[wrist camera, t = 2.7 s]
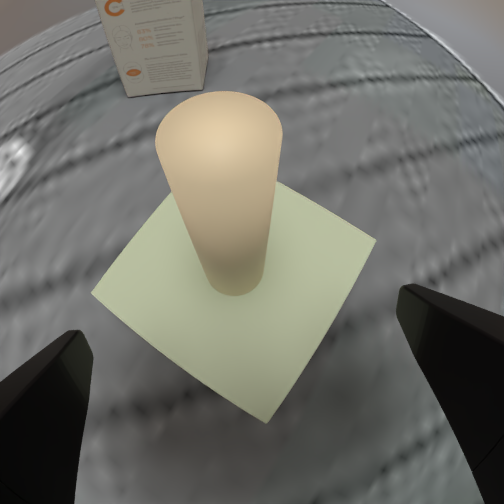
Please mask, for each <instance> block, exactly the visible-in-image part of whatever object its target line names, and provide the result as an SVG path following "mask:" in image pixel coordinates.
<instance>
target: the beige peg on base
mask: <svg viewBox="0 0 504 504" xmlns="http://www.w3.org/2000/svg"><path fill="white" fill-rule="evenodd" d="M281 142H282V127H281V123H280V120H279V118H278V116H277V115H276V114H275V112H274V111H273V110H272V109H271V108H270V107H269V106H268V105H267V104H265V103H264V102H262V101H261V100H259V99H257V98H255V97H253V96H250V95H247V94H243V93H238V92H231V91H217V92H209V93H204V94H201V95H197V96H195V97H192V98H190V99H187V100H186V101H184V102H182V103H180V104H179V105H177V106H176V107H175V108H173V109H172V110H171V111H170V112H169V113H168V114H167V115H166V116H165V118H164V119H163V120H162V122H161V124H160V125H159V128H158V130H157V134H156V140H155V144H156V150H157V154H158V156H159V159H160V162H161V165H162V167H163V170H164V173H165V175H166V178H167V180H168V183H169V186H170V188H171V191H172V192H171V193H170V194H169V195H168V196H167V198H166V199H165V200H164V201H163V202H162V203H161V205H160V206H159V207H158V208H157V209H156V210H155V212H154V213H153V214H152V215H151V216H150V218H149V219H148V220H147V221H146V222H145V224H144V225H143V226H142V227H141V229H140V230H139V231H138V232H137V233H136V235H135V236H134V237H133V238H132V240H131V241H130V242H129V243H128V245H127V246H126V247H125V249H124V250H123V251H122V252H121V254H120V255H119V256H118V258H117V259H116V260H115V261H114V263H113V264H112V265H111V267H110V268H109V269H108V271H107V272H106V273H105V275H104V276H103V277H102V279H101V280H100V281H99V283H98V284H97V286H96V287H95V288H94V290H93V291H92V292H91V294H92V295H93V296H95V297H96V298H97V299H98V300H99V301H100V302H101V303H102V304H103V305H105V306H106V307H107V308H108V309H109V310H110V311H111V312H112V313H114V314H115V315H116V316H117V317H118V318H119V319H121V320H122V321H123V322H124V323H125V324H126V325H128V326H129V327H130V328H131V329H132V330H134V331H135V332H136V333H137V334H138V335H140V336H141V337H142V338H143V339H145V340H146V341H147V342H148V343H150V344H151V345H152V346H153V347H155V348H156V349H157V350H159V351H160V352H161V353H162V354H164V355H165V356H166V357H168V358H169V359H170V360H172V361H173V362H174V363H176V364H177V365H178V366H180V367H181V368H182V369H184V370H185V371H187V372H188V373H189V374H191V375H192V376H194V377H195V378H196V379H198V380H199V381H201V382H202V383H203V384H205V385H206V386H208V387H209V388H211V389H212V390H214V391H215V392H217V393H218V394H220V395H221V396H223V397H224V398H226V399H227V400H229V401H230V402H232V403H233V404H235V405H236V406H238V407H240V408H241V409H243V410H244V411H246V412H248V413H249V414H251V415H252V416H254V417H256V418H257V419H259V420H261V421H262V422H264V423H266V424H267V423H268V422H269V420H270V419H271V417H272V416H273V414H274V413H275V412H276V410H277V409H278V407H279V406H280V404H281V403H282V401H283V400H284V399H285V397H286V396H287V394H288V393H289V391H290V390H291V388H292V387H293V385H294V384H295V382H296V381H297V379H298V377H299V376H300V374H301V373H302V371H303V370H304V368H305V367H306V365H307V363H308V362H309V360H310V359H311V357H312V355H313V354H314V352H315V351H316V349H317V347H318V346H319V344H320V342H321V341H322V339H323V337H324V336H325V334H326V332H327V331H328V329H329V327H330V326H331V324H332V322H333V320H334V319H335V317H336V315H337V314H338V312H339V310H340V308H341V306H342V305H343V303H344V301H345V299H346V298H347V296H348V294H349V292H350V290H351V288H352V287H353V285H354V283H355V281H356V279H357V277H358V275H359V273H360V272H361V270H362V268H363V266H364V264H365V262H366V260H367V258H368V256H369V254H370V252H371V250H372V248H373V246H374V244H375V242H376V240H375V239H374V238H372V237H371V236H369V235H367V234H366V233H364V232H363V231H361V230H359V229H358V228H356V227H355V226H353V225H351V224H350V223H348V222H346V221H345V220H343V219H341V218H340V217H338V216H336V215H335V214H333V213H331V212H330V211H328V210H326V209H325V208H323V207H321V206H320V205H318V204H316V203H315V202H313V201H311V200H309V199H308V198H306V197H304V196H302V195H301V194H299V193H297V192H295V191H294V190H292V189H290V188H288V187H286V186H285V185H283V184H281V183H279V182H277V181H276V180H277V172H278V165H279V157H280V150H281Z"/></svg>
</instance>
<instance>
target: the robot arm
mask: <svg viewBox="0 0 504 504" xmlns="http://www.w3.org/2000/svg"><path fill="white" fill-rule="evenodd" d="M396 315H397V319H398V321H399V323H400V325H401V327H402V330H403V332H404V334H405V336H406V339H407V341H408V343H409V346H410V348H411V350H412V353H413V355H414V357H415V359H416V361H417V363H418V365H419V366H420V368H421V370H422V372H423V374H424V375H425V377H426V379H427V381H428V383H429V385H430V387H431V388H432V390H433V392H434V394H435V396H436V398H437V400H438V402H439V404H440V406H441V408H442V410H443V412H444V414H445V416H446V418H447V420H448V422H449V424H450V426H451V428H452V430H453V432H454V434H455V436H456V438H457V440H458V442H459V444H460V447H461V449H462V451H463V453H464V455H465V458H466V460H467V462H468V464H469V467H470V469H471V471H473V472H472V474H473V476H474V479H475V481H476V483H477V486H478V488H479V491H480V493H481V496H482V498H483V501H484V503H485V504H504V316H501V315H499V314H496V313H493V312H491V311H488V310H485V309H483V308H480V307H477V306H475V305H472V304H469V303H466V302H464V301H461V300H458V299H456V298H453V297H450V296H447V295H445V294H442V293H439V292H436V291H434V290H431V289H428V288H425V287H423V286H420V285H417V284H408V285H403V286H402V287H401V288H400V290H399V295H398V301H397V307H396ZM92 366H93V353H92V351H91V349H90V346H89V344H88V342H87V340H86V338H85V336H84V334H83V332H82V331H81V330H69V331H67V332H65V333H64V334H63V335H61V336H60V337H58V338H57V339H56V340H54V341H53V342H52V343H50V344H49V345H48V346H46V347H45V348H44V349H42V350H41V351H40V352H38V353H37V354H36V355H34V356H33V357H32V358H31V359H29V360H28V361H27V362H25V363H24V364H23V365H21V366H20V367H19V368H18V369H16V370H15V371H14V372H12V373H11V374H10V375H9V376H7V377H6V378H5V379H3V380H2V381H1V382H0V504H74V501H75V490H76V481H77V472H78V465H79V457H80V450H81V444H82V438H83V432H84V426H85V420H86V415H87V409H88V403H89V394H90V384H91V375H92Z"/></svg>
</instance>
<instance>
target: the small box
mask: <svg viewBox="0 0 504 504" xmlns="http://www.w3.org/2000/svg"><path fill="white" fill-rule="evenodd" d="M95 3H96V6H97V9H98V12H99V16H100V19H101V22H102V25H103V28H104V31H105V34H106V37H107V40H108V43H109V46H110V49H111V52H112V55H113V58H114V61H115V64H116V67H117V70H118V72H119V75H120V78H121V81H122V83H123V86H124V89H125V91H126V94H127V96H128V97H134V96H141V95H149V94H157V93H167V92H177V91H190V90H202V89H203V85H204V78H205V72H206V66H207V61H208V50H207V40H206V29H205V20H204V12H203V3H202V0H95Z"/></svg>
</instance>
